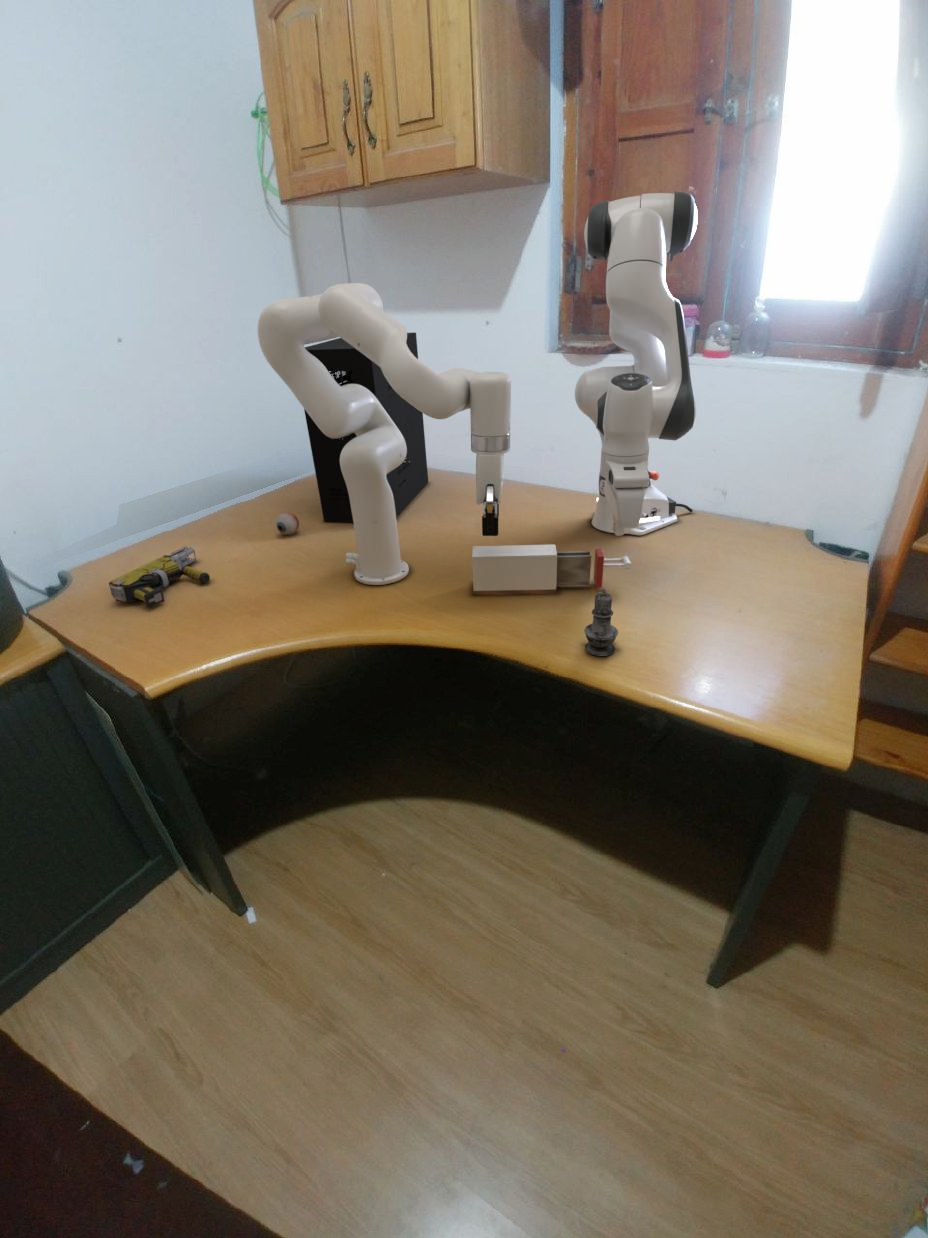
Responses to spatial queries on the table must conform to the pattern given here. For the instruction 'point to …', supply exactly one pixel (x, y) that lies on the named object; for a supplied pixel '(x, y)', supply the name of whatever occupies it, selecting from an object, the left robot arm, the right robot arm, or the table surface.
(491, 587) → the cabinet
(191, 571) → the toy gun
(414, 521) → the table surface
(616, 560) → the drawer
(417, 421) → the black computer case
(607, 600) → the dark grey chess piece
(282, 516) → the eyeball
